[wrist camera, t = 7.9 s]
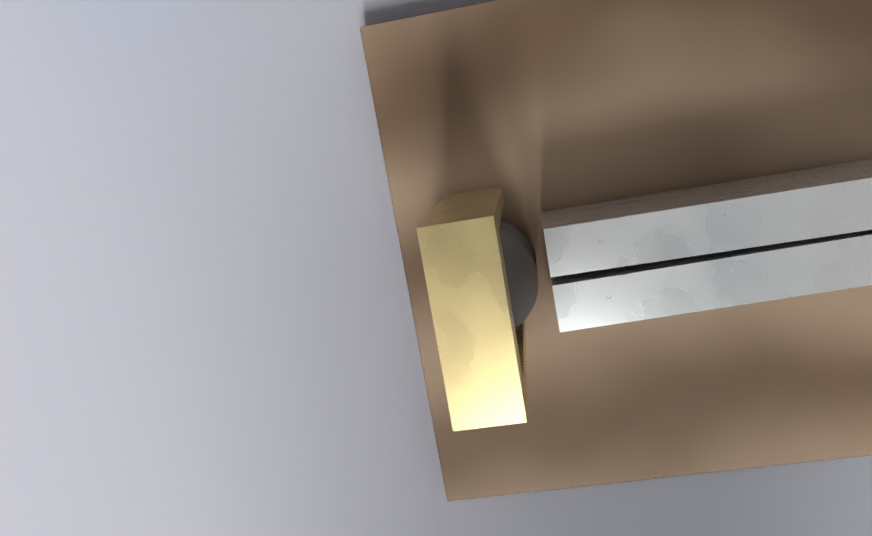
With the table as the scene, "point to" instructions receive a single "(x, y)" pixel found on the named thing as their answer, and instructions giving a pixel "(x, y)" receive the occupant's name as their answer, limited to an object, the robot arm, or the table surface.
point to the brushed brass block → (474, 310)
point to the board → (625, 178)
